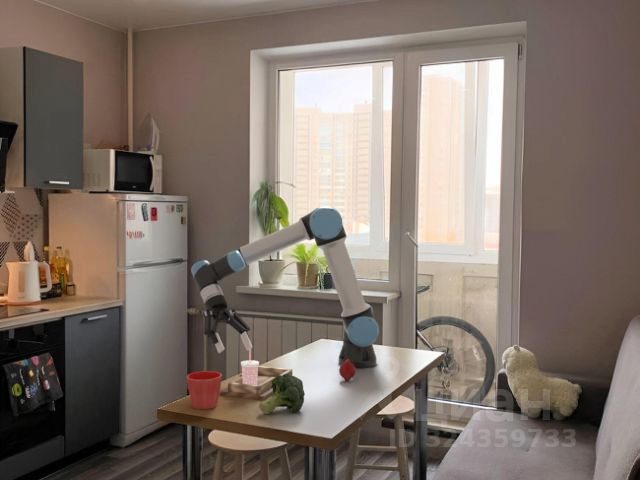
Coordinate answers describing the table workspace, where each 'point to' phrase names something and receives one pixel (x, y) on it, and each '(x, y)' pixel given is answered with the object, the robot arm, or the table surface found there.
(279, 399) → the vegetable
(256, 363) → the beverage cup
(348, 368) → the pomegranate
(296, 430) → the table surface
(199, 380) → the flower pot
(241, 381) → the light brown wooden tray
